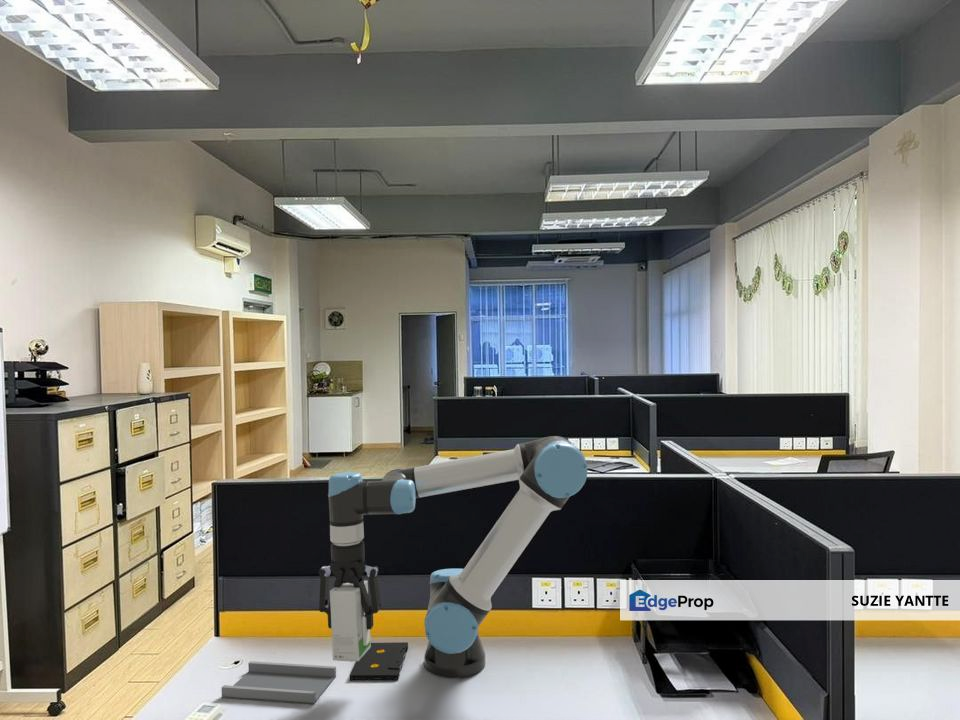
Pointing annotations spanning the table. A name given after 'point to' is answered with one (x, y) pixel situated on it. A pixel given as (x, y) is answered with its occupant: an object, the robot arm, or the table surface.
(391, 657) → the cassette tape
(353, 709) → the table surface
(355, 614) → the skincare box
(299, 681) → the rubber tray
